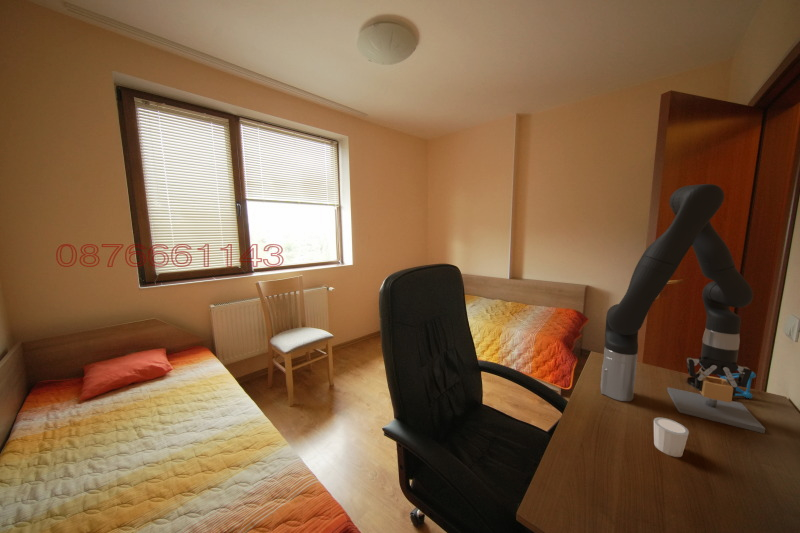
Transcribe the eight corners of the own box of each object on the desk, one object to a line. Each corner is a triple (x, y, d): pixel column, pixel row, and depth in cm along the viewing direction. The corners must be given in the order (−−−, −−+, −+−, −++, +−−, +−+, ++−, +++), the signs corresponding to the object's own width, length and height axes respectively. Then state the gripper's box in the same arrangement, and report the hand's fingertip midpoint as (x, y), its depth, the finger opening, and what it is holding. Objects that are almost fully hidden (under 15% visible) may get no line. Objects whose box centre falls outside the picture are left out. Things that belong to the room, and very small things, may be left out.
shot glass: (676, 442, 77) (679, 419, 76) (692, 461, 71) (696, 437, 70) (646, 436, 79) (648, 414, 78) (659, 455, 73) (662, 431, 72)
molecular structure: (694, 383, 105) (698, 359, 104) (721, 384, 105) (725, 359, 104) (724, 399, 95) (728, 373, 94) (754, 400, 95) (758, 373, 94)
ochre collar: (703, 396, 88) (705, 382, 88) (697, 387, 93) (698, 374, 93) (731, 402, 85) (733, 388, 85) (723, 393, 90) (725, 379, 89)
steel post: (706, 406, 90) (709, 390, 89) (704, 402, 92) (706, 387, 91) (717, 408, 88) (719, 393, 88) (714, 404, 90) (716, 389, 90)
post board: (678, 412, 89) (679, 408, 89) (667, 390, 101) (667, 387, 101) (764, 433, 80) (765, 428, 79) (740, 407, 91) (741, 403, 91)
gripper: (692, 343, 88) (686, 392, 90) (761, 353, 80) (753, 406, 82) (684, 335, 94) (679, 381, 96) (748, 344, 86) (741, 393, 88)
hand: (713, 392), depth 89 cm, fingers closed on ochre collar, 6 cm apart
